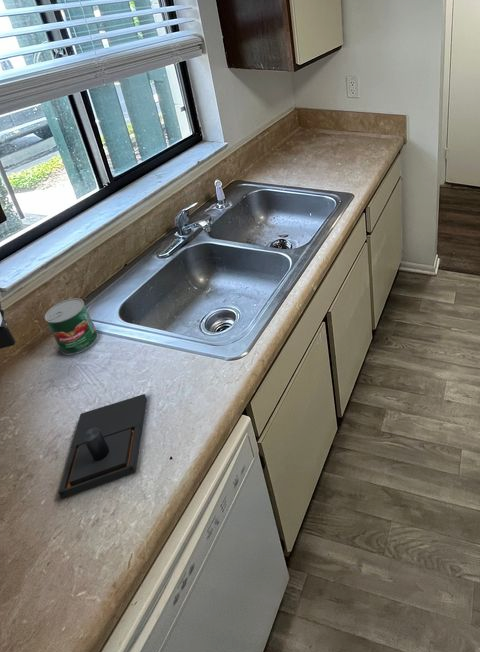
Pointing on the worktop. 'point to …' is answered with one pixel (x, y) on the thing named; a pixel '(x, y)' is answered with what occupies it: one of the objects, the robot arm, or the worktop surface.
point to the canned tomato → (71, 326)
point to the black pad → (105, 465)
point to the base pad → (109, 423)
